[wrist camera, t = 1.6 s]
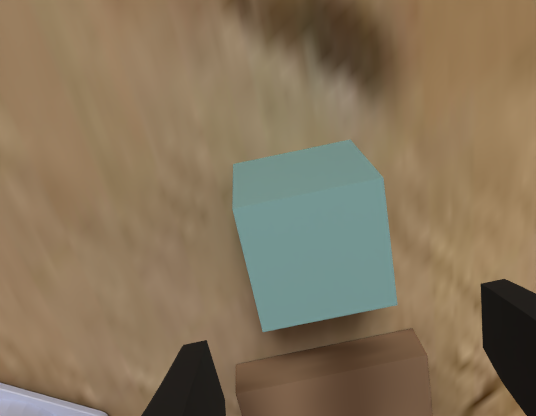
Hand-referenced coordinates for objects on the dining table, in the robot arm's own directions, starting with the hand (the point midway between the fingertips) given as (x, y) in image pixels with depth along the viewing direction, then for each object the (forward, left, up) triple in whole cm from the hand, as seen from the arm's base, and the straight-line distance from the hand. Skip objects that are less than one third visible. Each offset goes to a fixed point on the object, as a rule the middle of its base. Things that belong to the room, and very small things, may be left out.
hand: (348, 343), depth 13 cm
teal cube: (0, 0, -10) cm, 10 cm away
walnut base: (-10, -7, -9) cm, 15 cm away
